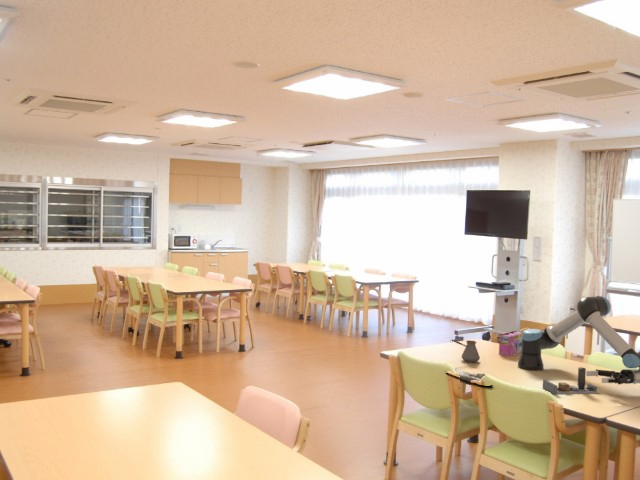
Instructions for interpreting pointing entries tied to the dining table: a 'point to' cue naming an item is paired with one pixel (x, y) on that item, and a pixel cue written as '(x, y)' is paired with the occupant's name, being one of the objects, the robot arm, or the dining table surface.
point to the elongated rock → (469, 375)
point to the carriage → (580, 381)
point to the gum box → (510, 343)
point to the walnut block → (563, 387)
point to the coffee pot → (469, 352)
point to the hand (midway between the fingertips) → (594, 376)
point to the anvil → (550, 387)
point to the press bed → (590, 387)
